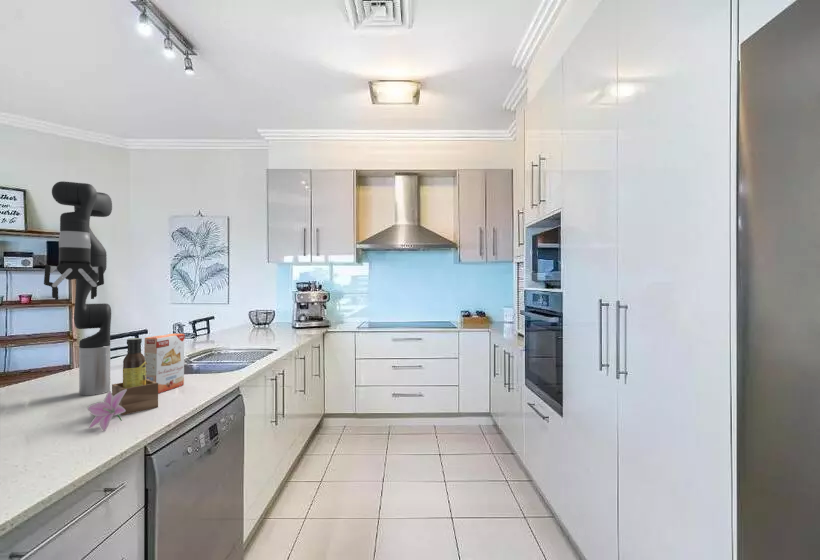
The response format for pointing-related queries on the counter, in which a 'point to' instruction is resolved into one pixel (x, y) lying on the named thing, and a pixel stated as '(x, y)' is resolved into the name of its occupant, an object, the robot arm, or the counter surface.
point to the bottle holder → (138, 397)
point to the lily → (106, 409)
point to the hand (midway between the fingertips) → (74, 299)
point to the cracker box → (165, 360)
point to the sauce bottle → (134, 365)
